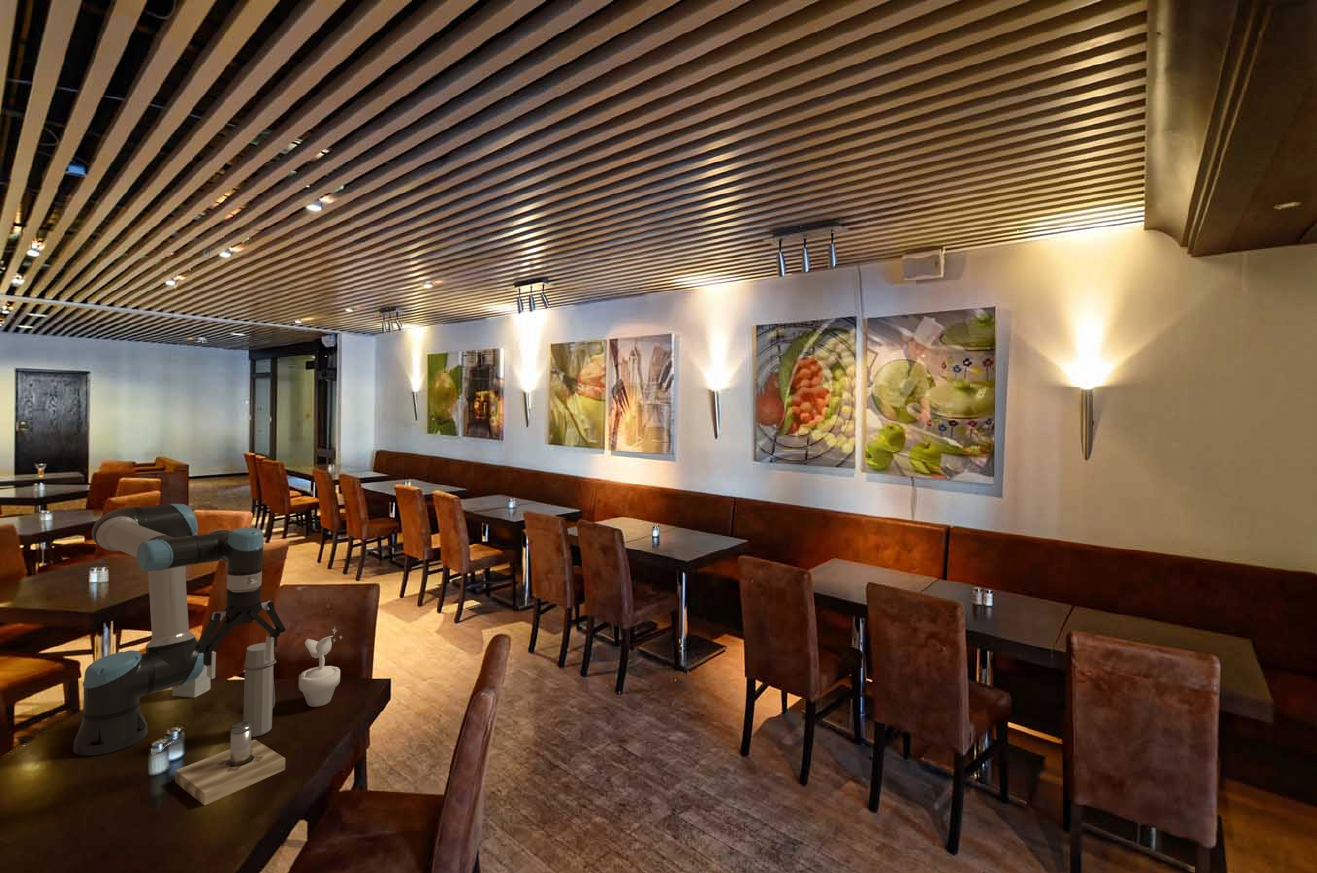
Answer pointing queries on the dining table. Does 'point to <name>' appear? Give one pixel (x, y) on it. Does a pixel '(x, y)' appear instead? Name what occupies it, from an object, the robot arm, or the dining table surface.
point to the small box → (193, 686)
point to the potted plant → (319, 674)
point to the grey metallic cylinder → (240, 744)
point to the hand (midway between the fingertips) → (241, 668)
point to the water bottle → (258, 690)
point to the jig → (228, 773)
